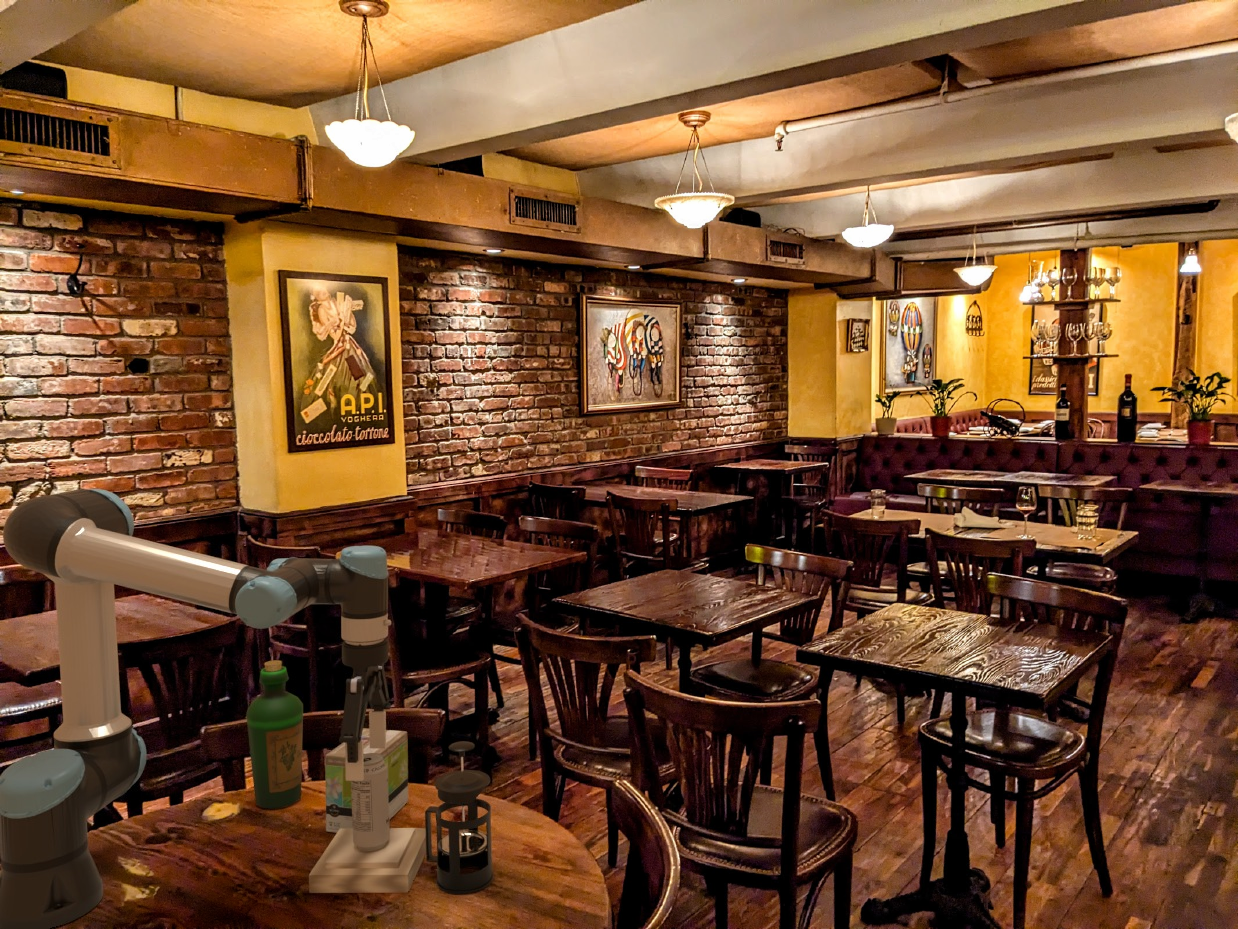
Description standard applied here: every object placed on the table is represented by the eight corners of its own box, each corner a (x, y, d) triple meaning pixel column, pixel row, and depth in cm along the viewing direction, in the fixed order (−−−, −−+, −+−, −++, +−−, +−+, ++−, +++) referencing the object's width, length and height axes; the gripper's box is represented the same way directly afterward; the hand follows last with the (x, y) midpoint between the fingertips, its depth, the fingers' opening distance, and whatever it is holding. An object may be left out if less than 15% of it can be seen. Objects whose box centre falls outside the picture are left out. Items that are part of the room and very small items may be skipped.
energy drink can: (396, 844, 157) (393, 758, 156) (364, 857, 153) (361, 768, 152) (378, 832, 161) (375, 748, 160) (346, 844, 157) (343, 758, 156)
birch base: (309, 892, 149) (308, 869, 149) (340, 844, 165) (339, 823, 165) (408, 892, 149) (407, 868, 149) (429, 844, 165) (429, 822, 165)
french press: (504, 868, 157) (502, 735, 155) (486, 898, 147) (483, 757, 146) (439, 862, 159) (435, 731, 157) (417, 891, 150) (413, 752, 148)
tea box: (375, 838, 168) (372, 758, 167) (324, 833, 170) (321, 755, 169) (410, 802, 183) (408, 729, 182) (363, 798, 185) (360, 726, 184)
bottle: (296, 813, 178) (291, 670, 176) (241, 813, 178) (234, 671, 176) (314, 789, 189) (309, 654, 187) (262, 790, 189) (256, 655, 187)
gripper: (366, 661, 142) (367, 795, 143) (405, 621, 167) (406, 736, 168) (317, 660, 142) (319, 794, 144) (364, 620, 167) (365, 735, 168)
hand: (366, 763), depth 156 cm, fingers open, 13 cm apart
